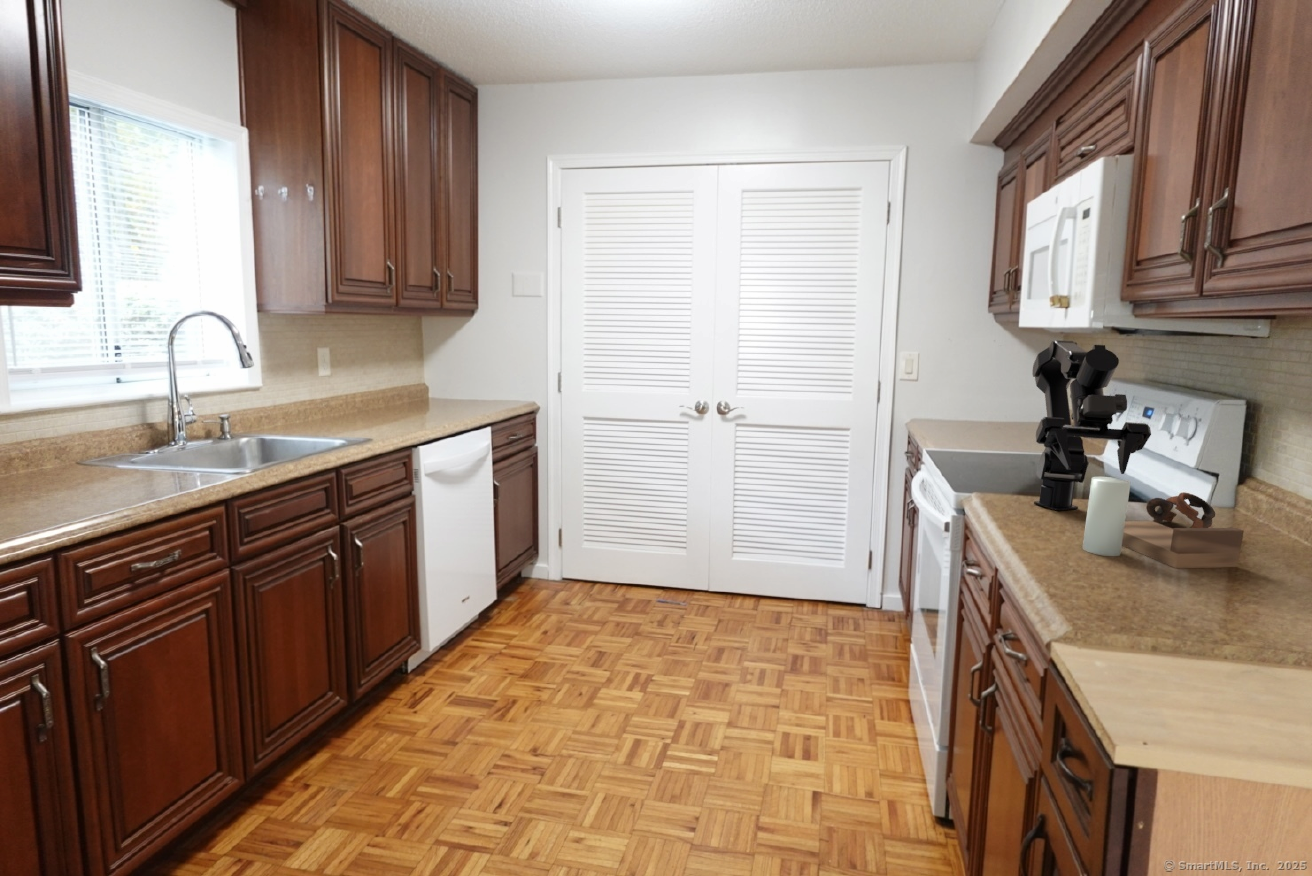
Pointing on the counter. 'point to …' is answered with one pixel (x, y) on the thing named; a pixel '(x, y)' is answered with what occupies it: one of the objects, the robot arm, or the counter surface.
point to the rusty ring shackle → (1181, 509)
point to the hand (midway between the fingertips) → (1096, 470)
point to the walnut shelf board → (1162, 544)
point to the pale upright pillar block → (1106, 516)
